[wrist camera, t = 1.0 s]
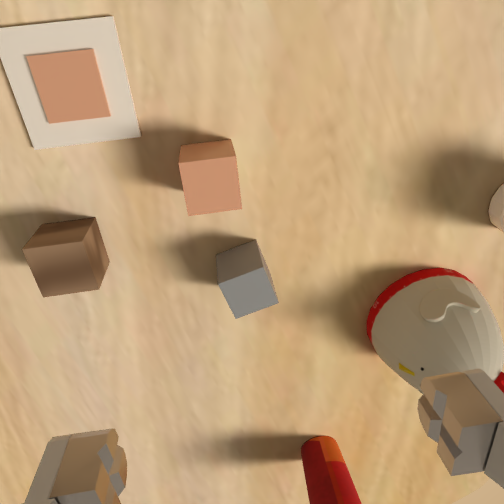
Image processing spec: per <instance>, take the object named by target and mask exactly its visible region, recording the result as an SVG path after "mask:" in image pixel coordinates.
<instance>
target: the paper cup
mask: <svg viewBox="0 0 504 504" xmlns="http://www.w3.org/2000/svg"><path fill="white" fill-rule="evenodd" d="M301 454H302V461H303V467H304V473H305V479H306V484H307V490H308V496H309V501H310V504H361V501H360V499H359V496H358V494H357V491H356V489H355V486H354V484H353V481H352V479H351V476H350V474H349V471H348V469H347V466H346V464H345V461H344V459H343V456H342V454H341V451H340V449H339V447H338V444H337V442H336V441H335V440H334V439H333V438H331V437H328V436H318V437H314V438H312V439H310V440H308V441H307V442H305V443H304V444H303V446H302V448H301Z"/></svg>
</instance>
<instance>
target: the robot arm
mask: <svg viewBox="0 0 504 504" xmlns="http://www.w3.org/2000/svg"><path fill="white" fill-rule="evenodd" d="M420 388H421V390H422V392H423V393H424V394H423V395H422V397H421V398H420V399H419V400H418V413H419V418H420V421H421V424H422V426H423V428H424V430H425V432H426V434H427V436H428V437H430V438H431V439H433V440H434V441H436V442H437V443H438V447H437V453H438V455H439V456H440V458H441V460H442V462H443V463H444V465H445V467H446V468H447V470H448V472H449V473H450V475H451V476H455V475H461V474H468V473H475V472H482V471H485V472H484V473H485V474H486V475H487V476H488V477H490V478H491V479H492V480H494V481H495V482H496V483H498V484H499V485H500V486H501V487H503V488H504V393H503V392H502V391H501V390H500V389H499V388H498V386H497V385H496V384H495V383H494V382H493V381H492V380H491V378H490V377H489V376H488V375H487V374H486V373H485V372H484V371H483V370H481V369H473V370H467V371H461V372H453V373H447V374H441V375H436V376H430V377H424V378H423V380H422V381H421V386H420ZM117 442H118V435H117V432H116V430H115V429H106V430H99V431H91V432H84V433H76V434H70V435H63V436H57V437H52V439H51V440H50V441H49V442H48V444H47V446H46V449H45V451H44V454H43V457H42V459H41V462H40V464H39V467H38V469H37V472H36V474H35V477H34V480H33V482H32V485H31V487H30V490H29V492H28V495H27V498H26V500H25V503H23V504H121V503H120V500H119V498H118V496H119V495H120V493H121V492H122V491H123V489H124V488H125V485H126V478H127V461H126V455H125V452H124V449H123V448H122V447H120V446H118V445H117Z"/></svg>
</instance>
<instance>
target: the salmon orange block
mask: <svg viewBox="0 0 504 504" xmlns="http://www.w3.org/2000/svg"><path fill="white" fill-rule="evenodd" d="M178 164H179V169H180V175H181V180H182V185H183V190H184V196H185V201H186V206H187V211H188V216H192V215H200V214H207V213H215V212H222V211H230V210H237V209H242V205H241V196H240V187H239V178H238V170H237V161H236V155H235V151H234V148H233V144H232V141H231V139H229V140H221V141H213V142H205V143H197V144H188V145H181V149H180V156H179V162H178Z"/></svg>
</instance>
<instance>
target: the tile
mask: <svg viewBox="0 0 504 504" xmlns="http://www.w3.org/2000/svg"><path fill="white" fill-rule="evenodd" d="M0 58H1V61H2V63H3V66H4V69H5V71H6V74H7V77H8V79H9V82H10V85H11V88H12V90H13V93H14V96H15V98H16V101H17V104H18V106H19V109H20V112H21V114H22V117H23V120H24V123H25V125H26V128H27V131H28V133H29V136H30V139H31V141H32V144H33V147H34V149H35V150H38V149H46V148H54V147H62V146H71V145H79V144H87V143H95V142H103V141H112V140H120V139H128V138H136V137H141V132H140V128H139V124H138V119H137V115H136V111H135V106H134V102H133V98H132V93H131V89H130V85H129V81H128V76H127V72H126V68H125V63H124V59H123V55H122V50H121V46H120V42H119V37H118V33H117V29H116V24H115V20H114V16H110V17H100V18H91V19H81V20H72V21H62V22H53V23H43V24H33V25H24V26H14V27H5V28H0Z"/></svg>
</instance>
